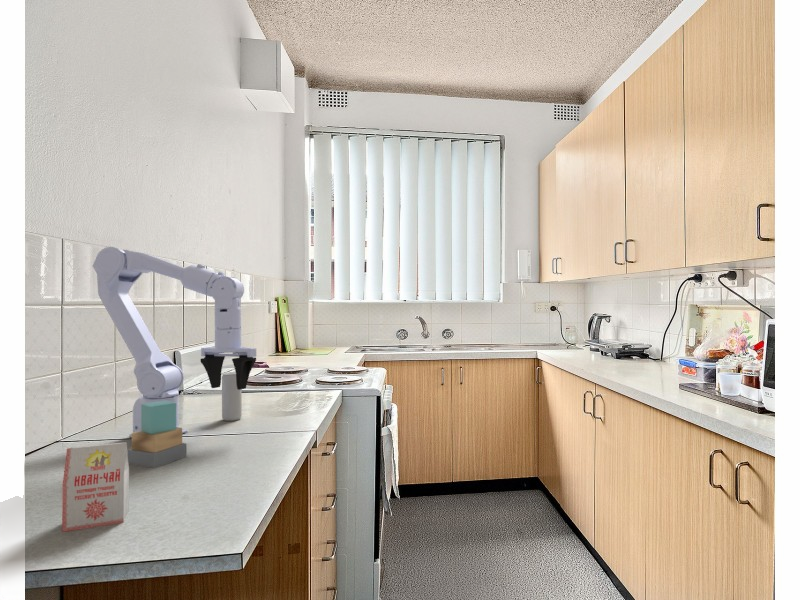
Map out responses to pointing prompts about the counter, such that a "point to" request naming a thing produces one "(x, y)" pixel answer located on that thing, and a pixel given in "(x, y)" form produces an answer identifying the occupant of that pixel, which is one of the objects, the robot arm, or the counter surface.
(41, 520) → the counter surface
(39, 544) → the counter surface
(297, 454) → the counter surface
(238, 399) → the beverage can
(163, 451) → the tower base
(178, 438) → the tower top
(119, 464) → the tea box
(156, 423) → the teal block
